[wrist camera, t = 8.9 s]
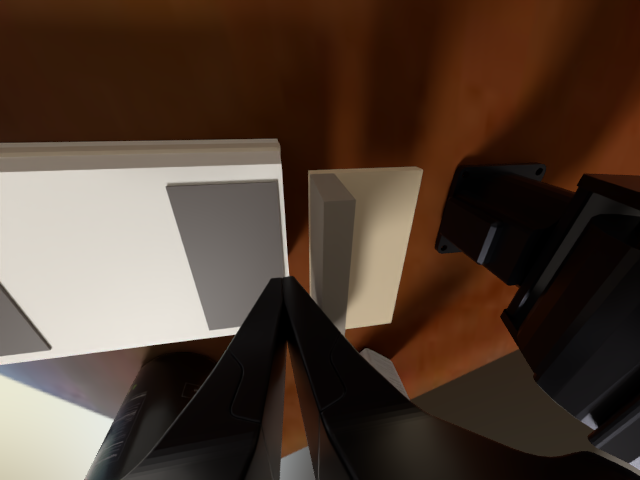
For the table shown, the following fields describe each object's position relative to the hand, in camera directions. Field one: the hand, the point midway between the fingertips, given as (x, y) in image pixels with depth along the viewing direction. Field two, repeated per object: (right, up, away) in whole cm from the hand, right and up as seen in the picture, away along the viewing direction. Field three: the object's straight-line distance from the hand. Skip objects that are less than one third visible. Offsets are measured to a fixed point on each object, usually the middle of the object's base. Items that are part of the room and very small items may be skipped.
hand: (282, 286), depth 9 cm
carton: (-8, +3, +5) cm, 10 cm away
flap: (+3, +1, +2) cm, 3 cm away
